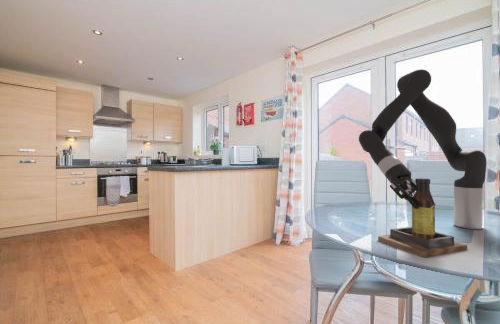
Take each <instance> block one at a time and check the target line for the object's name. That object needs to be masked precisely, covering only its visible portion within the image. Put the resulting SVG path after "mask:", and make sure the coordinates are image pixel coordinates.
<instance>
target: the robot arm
mask: <svg viewBox="0 0 500 324" xmlns="http://www.w3.org/2000/svg"><path fill="white" fill-rule="evenodd" d="M431 83H432V75H431V73H430V72H429V70H426V69H421V68H420V69H416V70H414V71H411V72H409V73H406V74H405V75H402V76H401V77H400V78H399V79H397V82H396V86H397V91H398V93H399V94H398V96H397V97H395V98H394V99H393V100H392V101H391V102H390V103H389V104H388V105H386V106H385V108H383V109H382V110H381V112H380V113H379V114H378V115H377V117H376V118H375V119H374V121H373V122H372V123H371V129H367V130H363V131H362V132H360V134H359V135H358V142H359V144H360V146H361V148H362V149H363V151H364V152H365V153H368V154H369V155H370V157H371V159H372V160H373V162H374V163H375V165H376V166H377V167H378V168H379V170H380V171H381V173H382V175H384V176H385V178H386V179H387V180H388V182H389V183H390V185H389V187H390V189H391V190H392V191H393V192H394V193H395V194H396V195H397V196H398V198H399V199H401V200H403V199H404V200H406V201H408V202H409V204H410V205H411V207H412V206H413V207H414V209H418V208H419V207H421V204H420V203H419V202H418V201H417V200H416V198H415V197H414V194H415V193H416V182H415V179H413V178H412V172H411V171H410V170H409V168H408V167H407V166H405V164H404V163H403V162H402V161H401V160H400V159H399V158H398V157H397V156H395V155H394V153H393V152H392V151H391V150H390V149H389V148H388V147H387V146H386V145H385V143H384V141H385V139H386V136H387V134H388V133H389V131H390V130H391V128H392V127H393V126H394V125H395V123H396V122H397V120H398V119H399V118H400V116H401V115H402V114H404V112H405V111H406V110H407V109H408V108H409V107H410V106H411V107H412V109H413V110H414V111H415V112H416V114H417V115H418V117H419V118H420V120H421V121H422V122H423V124H424V126H425V127H426V129H427V130H428V132H429V133H430V134H431V135H432V137H433V138H434V140H435V141H436V142H437V144H438V146H439V147H440V148H441V150H442V153H443V154H444V156H445V158H446V160H447V162H448V163H449V165H450V167H451V168H452V169H453V170H455V171H458V172H464V175H463V176H462V177H461V178H457V179H455V180H454V181H453V182H454V183H453V185H454V186H453V188H454V189H453V225H454V226H456V227H458V228H459V227H460V228H463V229H471V230H481V229H483V227H482V226H483V225H484V224H483V221H484V219H483V217H484V212H483V211H484V208H483V207H484V206H483V202H484V201H483V198H484V197H483V196H484V195H483V193H484V183H485V181H486V176H487V175H486V174H487V173H486V172H487V156H486V155H485V153H484V152H483V151H481V150H478V149H473V150H463V149H462V148H461V147H460V145H459V143H458V142H457V140H456V134H457V123H456V121H455V119H454V118H453V117H452V115H451V114H450V112H449V111H448V110H447V109H446V108H444V107H443V106H441V105H439V103H436V102H434V101H432V100H431V99H429V97H427V96H426V95H425V93H424V92H425V90H427V89H428V88H429V87H430V84H431ZM430 193H431V194H432V192H431V191H430Z"/></svg>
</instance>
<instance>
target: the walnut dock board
mask: <svg viewBox="0 0 500 324" xmlns="http://www.w3.org/2000/svg"><path fill="white" fill-rule="evenodd" d="M377 237H378V238H377V240H378V241H379V242H381V243H384V244H387V245H389V246H392V247H395V248H397V249H400V250H403V251H406V252H408V253H411V254H414V255H417V256H419V257H422V258H425V259H426V258H430V257H437V256H441V255H446V254H447V255H448V254H451V253H455V252H456V253H457V252H461V251H466V250H468V244H466V243H461V242H458V241H455V237H454V236H452V235H448V234H444V233H442V232H441V233H440V232H437V231H435V234H434V239H428V240H427V239H424V238H421V237H417V236H414V235H413V232H412V226H406V227H399V228H398V227H397V228H390V231H389V234H385V235H378V236H377Z"/></svg>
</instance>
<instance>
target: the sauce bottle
mask: <svg viewBox="0 0 500 324" xmlns="http://www.w3.org/2000/svg"><path fill="white" fill-rule="evenodd" d="M414 181H415V182H416V191H415V192H416V193H415V194H413V196H414V197H415V198H416V200H417V201H418V202H419V203H420V204H421V207H419V208H418V209H414V207H413V206H412V205H411V227H412V232H413V235H414V236H417V237H421V238H424V239H427V240H428V239H434V234H435V232H436V213H435V212H436V209H435V206H436V203H435V201H434V198H433V196H432V192H431V189H430V188H431V187H430V186H431V185H430V184H431V179H430V178H424V177H421V178H415V179H414ZM430 192H431V193H430Z"/></svg>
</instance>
